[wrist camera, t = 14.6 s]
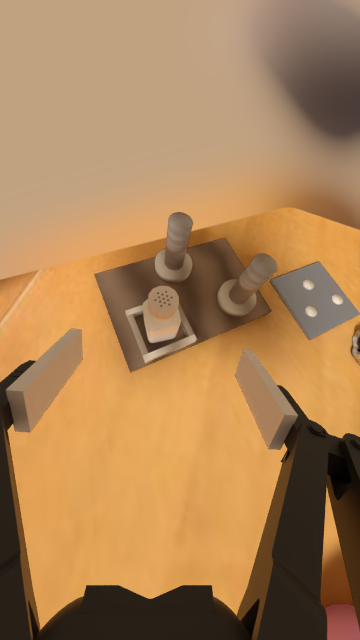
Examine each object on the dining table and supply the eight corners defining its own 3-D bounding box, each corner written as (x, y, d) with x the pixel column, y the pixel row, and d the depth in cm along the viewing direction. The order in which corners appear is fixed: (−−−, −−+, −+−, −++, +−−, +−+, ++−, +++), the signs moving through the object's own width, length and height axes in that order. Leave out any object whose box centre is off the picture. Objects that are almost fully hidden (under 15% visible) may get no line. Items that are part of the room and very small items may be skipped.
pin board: (130, 372, 27) (119, 357, 18) (96, 278, 32) (71, 224, 22) (267, 313, 34) (315, 278, 24) (222, 242, 38) (247, 188, 28)
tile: (308, 339, 33) (312, 338, 32) (269, 281, 36) (272, 278, 36) (357, 315, 36) (361, 313, 35) (317, 263, 40) (320, 260, 39)
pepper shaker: (169, 314, 30) (177, 279, 21) (176, 339, 29) (187, 313, 20) (143, 318, 29) (140, 284, 21) (148, 345, 28) (147, 320, 19)
